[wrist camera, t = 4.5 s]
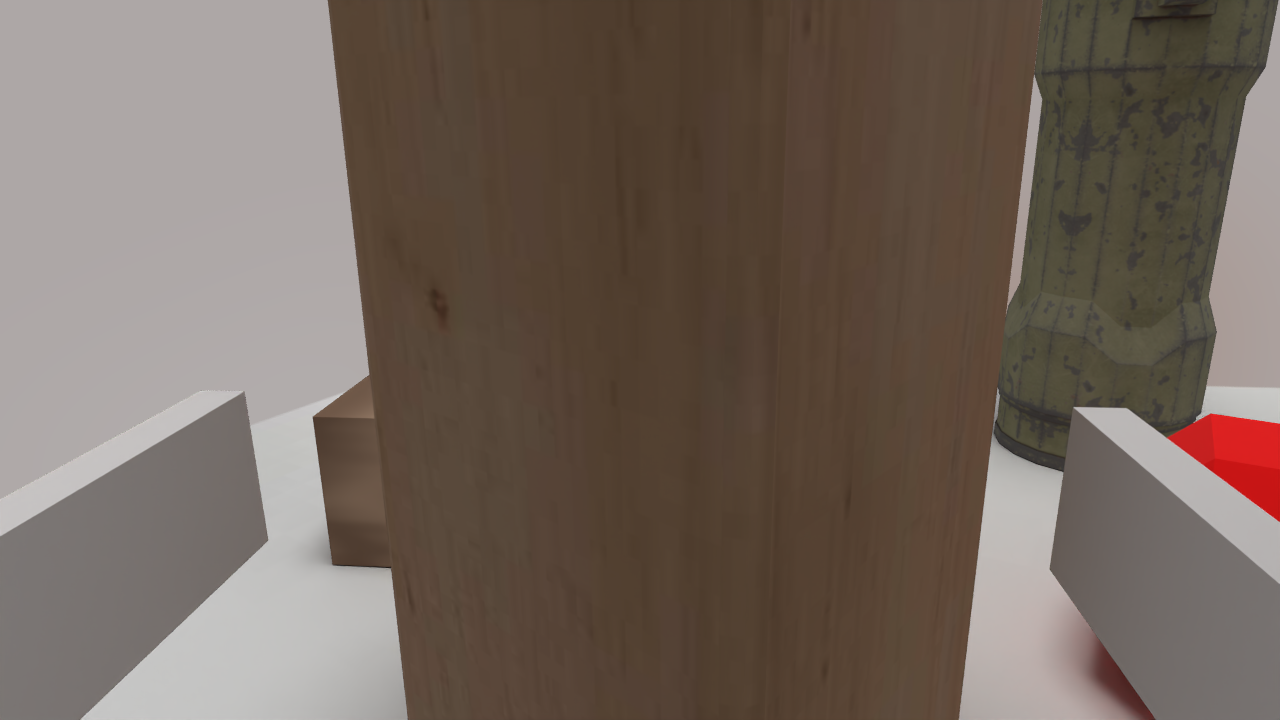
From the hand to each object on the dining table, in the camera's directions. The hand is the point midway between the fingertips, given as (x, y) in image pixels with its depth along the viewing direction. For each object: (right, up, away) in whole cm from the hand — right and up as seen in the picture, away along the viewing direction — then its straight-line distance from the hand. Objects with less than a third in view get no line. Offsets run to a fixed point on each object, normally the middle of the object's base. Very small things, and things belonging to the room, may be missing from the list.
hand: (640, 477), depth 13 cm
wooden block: (+1, -9, +8) cm, 12 cm away
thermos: (+23, -3, +29) cm, 37 cm away
